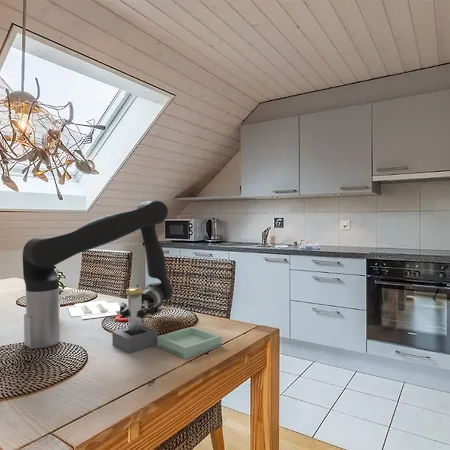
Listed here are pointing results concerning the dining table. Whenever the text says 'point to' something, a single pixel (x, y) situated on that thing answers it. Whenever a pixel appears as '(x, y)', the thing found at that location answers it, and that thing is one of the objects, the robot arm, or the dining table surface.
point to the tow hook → (119, 317)
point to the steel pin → (134, 310)
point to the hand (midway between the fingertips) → (132, 314)
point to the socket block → (134, 339)
